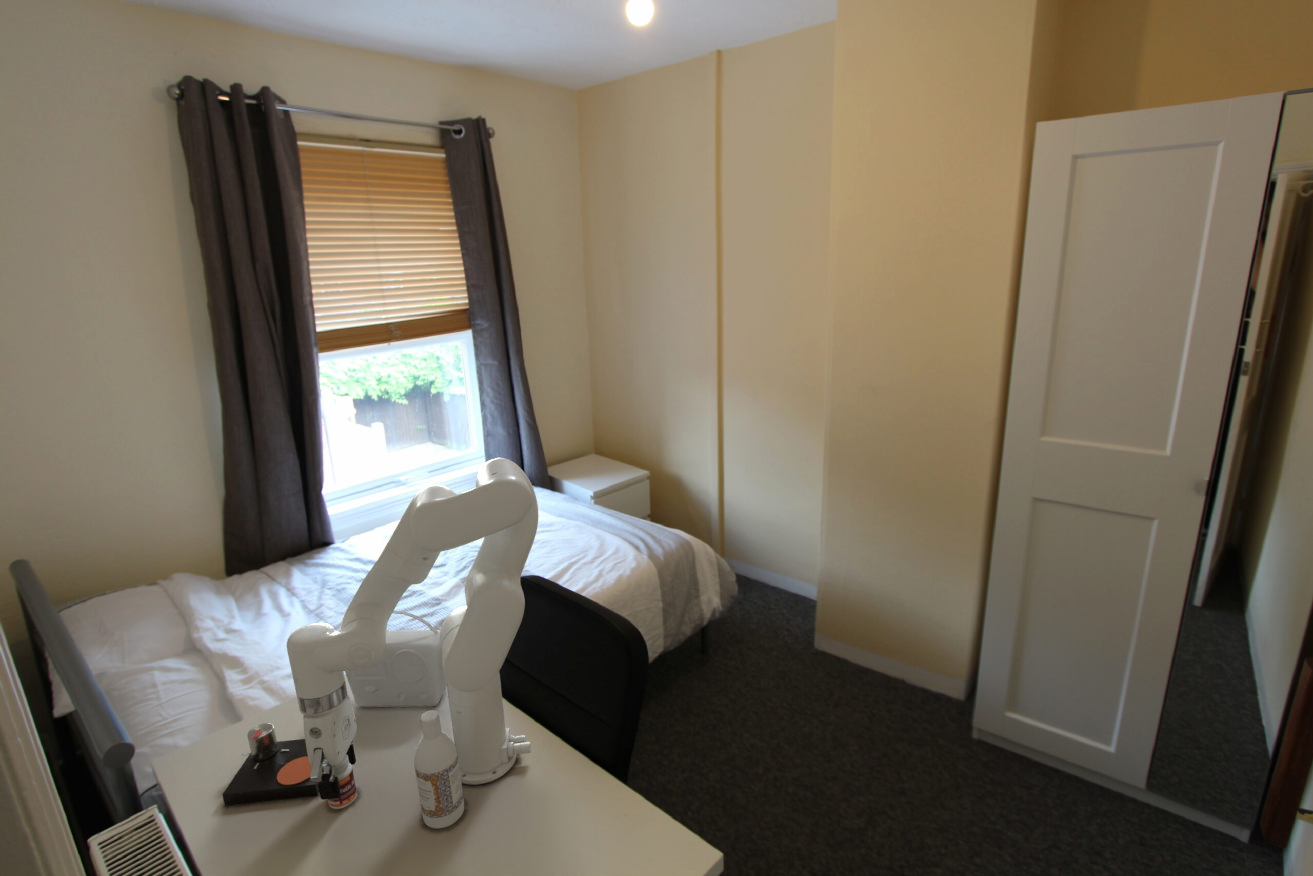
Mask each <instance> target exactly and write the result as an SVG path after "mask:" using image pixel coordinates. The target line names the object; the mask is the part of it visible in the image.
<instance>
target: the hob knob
mask: <svg viewBox="0 0 1313 876" xmlns="http://www.w3.org/2000/svg"><path fill="white" fill-rule="evenodd" d="M246 737H247V742H248V746H249V748H250V753H251V754H252V758H253V759H254V760H256V761H261V760H265V759H268V758H270V757H272V756H273V755H274V754H275V753H276V752H277V751H278V744H277V742H278V740H277V735H276V731H275V726H274V725H273V724H272V723H270V722H265V723H260V724H258V725H255V726H254V727H252V728H251V729H250V730H248V732H247V735H246Z"/></svg>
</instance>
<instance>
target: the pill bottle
mask: <svg viewBox="0 0 1313 876" xmlns="http://www.w3.org/2000/svg"><path fill="white" fill-rule="evenodd" d="M325 761H327V760H325ZM325 761H324V762H325ZM325 773H327V774H329V766H325V767H324V774H325ZM335 777H338V782H339V787H340V792H341V795H340V797H339V798H335V799H327V804H328V806H329V807H330V808H332V809H334V810H340V809H344V808H346V807H348V806H350V805H351V804H352V803H353V802H354V801H355V800H356V799H357V796H358V792H357V786H356V785H357V784H356V780H355V774H354V769H353V765H351V764H350V763H349V759H348V755H347V754H346V755H345V757H344V758H343V760H342V762H341V763H340V764H339V765H335Z"/></svg>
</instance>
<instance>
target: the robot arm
mask: <svg viewBox="0 0 1313 876" xmlns="http://www.w3.org/2000/svg"><path fill="white" fill-rule="evenodd" d="M538 505H539V504H538V500H537V495H536V492H535V489H534V486H533V484H532V482H531V480H530V478H529V477H528V475H527V474H526V473H525V471H524V470H523V469H522V468H521V467H520V466H519V465H518V464H517V463H516V462H515V461H512V460H511V459H508V458H505V457H496V458H491V459H490V460H488V461H486V462H485V463H484V464H483V465H482V466H481V467H480V469H479V470H478V473H477V475H476V479H475V487H474V488H472V489H469V490H466V491H463V492H460V493H458V494H457V493H456V492H455V491H454V490H452V489H451V488H450V487H447V486H445V485H441V484H430V485H427V486H424V487H423V488H421V489H419V491H417V492H416V494H415V495H414V496H413V498H412V499H411V500H410V503H409V504H408V506H407V507H406V509H405V511H404V513H403V515H402V516H401V518H400V520H399V522H398V524H397V526H396V527H395V529H394V530H393V533H392V534H391V536H390V538H389V540H388V541H387V543H386V545H385V546H384V548H383V550H382V552H381V553H380V555H379V557H378V558H377V560H376V561H375V562H374V564H373V566H372V567H371V569H369V571H368V573H367V574H366V575H365V577H364V579H363V580H362V582H361V584H360V585H359V587H358V589H357V591H356V592H355V594H354V596H353V597H352V599H351V601H350V603H349V604H348V606H347V608H346V611H345V612H344V615H343V617H342V622H341V625H340V629H339V630H338V631H337V630H336V629H335V628H334V627H333V626H332V625H331V624H329V623H326V622H314V623H309V624H306V625H303V626H301V627H299V628H298V629H296V630H294V631H293V632H292V633H291V634H290V635H289V637H288V638H287V641H286V652H287V656H288V661H289V666H290V670H291V675H292V681H293V684H294V685H293V686H294V690H295V695H296V699H297V704H298V709H299V712H300V714H301V715H303V716H302V717H303V718H302V719H303V720H302V721H303V733H304V739H305V742H306V748H307V754H308V758H309V762H310V765H311V766H312V770H311V775H310V780H312V781H314V782H315V783H318V788H319V798H320V799H321V800H322V801H324V800H325V801H326V800H328V799H335V798H339V797H340V795H341V792H340V787H339V782H338V777H335V765H339V764H340V763H341V762H342V760H343V758H344V757H345V755H346V754H347V755H348V759H349V763H350V764H351V765H352V766H353V765H355V764H356V762H357V757H356V751H355V747H354V744H353V742H354V738H355V736H356V733H357V729H358V726H357V720H356V716H355V712H354V708H353V704H352V701H351V698H350V695H349V692H348V688H347V683H346V679H345V671H361V670H366V669H370V668H372V667H374V666H376V665H377V664H378V663H379V662H380V661H381V660H382V658H383V656H384V654H385V649H386V632H387V630H388V629H387V628H388V622H389V621H390V618H391V616H392V615H393V614H394V613H393V611H395V609H396V607H397V606H398V604H399V602H400V600H401V599H402V597H403V596H404V594H405V592H406V591H407V590H408V589H409V588H411V586H412V585H419V584H421V583H423V582H425V580H426V579H427V578H428V576H429V574H430V572H431V570H432V569H433V567H434V565H435V563H436V562H437V560H438V557H439V556H440V555H441V553H442V552H446V551H451V550H453V549H457V548H459V547H463V546H465V545H468V544H471V543H473V542H476V541H478V540H482V539H483V540H482V542H481V545H480V547H479V549H478V553H477V554H476V557H475V559H474V561H473V562H472V565H471V568H470V569H469V571H468V574H467V576H466V579H465V582H464V599H465V603H466V605H465V606H459V607H458V608H456V609H454V610H452V611H450V612H449V614H448V615H447V616H446V617H445V619H444V620H443V622H442V623H441V628H440V630H441V631H440V646H441V655H442V665H443V671H444V674H445V677H446V684H447V687H446V691H447V699H448V706H449V713H450V720H451V727H452V728H451V729H452V734H453V742H454V744H455V747H456V750H457V755H458V762H459V769H460V776H461V783H462V784H465V785H482V784H486V783H487V784H488V783H490V782H493V781H495V780H497V779H499V778H500V777H502V776H504V775H505V774H506V773H507V772H508V771H509V770H510V769H511V768H512V767H513V766H514V765H515V762H516V760H517V757H518V756H517V755H518V754H522V755H523V754H525V755H526V754H531V752H532V744H531V741H526V739H527V738H526V734H524V735H523V734H522V735H516V736H514V735H511V729H510V727H506V720H505V711H504V702H503V693H502V682H501V673H500V670H501V669H502V667H503V665H504V663H505V661H506V658H507V657H508V654H509V651H510V650H511V647H512V644H513V642H514V640H515V638H516V636H517V633H518V631H519V629H520V626H521V624H522V621H523V618H524V613H525V608H526V603H525V602H526V599H525V595H524V591H523V588H522V584H521V577H522V573H523V571H524V568H525V565H526V563H527V560H528V558H529V555H530V552H531V550H532V547H533V544H534V542H535V538H536V536H537V531H538V526H539V506H538ZM324 758H325V759H326V760H327V761H325V762H323V760H324ZM325 766H329V774H327V773H325V774H324V773H323V772H322V767H325Z"/></svg>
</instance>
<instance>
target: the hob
mask: <svg viewBox="0 0 1313 876" xmlns="http://www.w3.org/2000/svg"><path fill="white" fill-rule="evenodd" d="M277 744H278V751H277V752H276V753H275V754H274V755H273V756H272V757H270V758H268V759H265V760H261V761H256V760H254V759H253V758H252V754H251V752H249V753H248V752H247V753H242V754H241V756H242V757H243V756H244V757H245V756H247V757H246V759H245V760H244V761H243V763H242V765H241V766H240V768H239V769H238V771H237V772H236V773H235V775H234V776H233V778H232V779H231V781H230V782H229V783H228V786H227V787H226V788H225V790H224V791H223V793H222V794H221V796H222V799H223V804H224V806H225V807H228V806H235V805H237V806H238V805H246V804H254V803H255V804H256V803H263V802H265V803H266V802H274V801H282V800H292V799H301V798H309V797H318V796H319V795H320V793H319V788H318V783H315V782H314V781H312V780H310V778H308V779H307V780H305V781H303V782H301V783H298V784H295V785H282V784H280V783H279V782H278V781H277V775H278V772H279V771H280V770H281V768H282V767H284V766H285V765H286V764H287V763H289V762H291V761H293V760H295V759H298V758H301V757H307V756H308V754H307V748H306V742H305V738H301V739H290V740H289V739H288V740H281V741H277ZM325 760H326V759H325V758H324V760H323V762H324V761H325ZM322 772H323V773H324V767H322Z"/></svg>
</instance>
